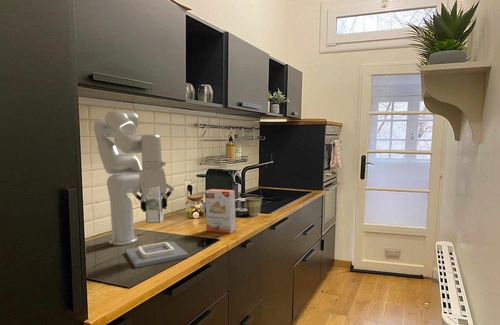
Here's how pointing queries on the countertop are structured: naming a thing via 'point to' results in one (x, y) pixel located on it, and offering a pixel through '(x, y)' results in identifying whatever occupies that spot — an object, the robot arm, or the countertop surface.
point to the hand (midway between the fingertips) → (154, 209)
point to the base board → (155, 254)
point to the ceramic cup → (253, 205)
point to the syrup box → (154, 205)
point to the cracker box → (220, 210)
